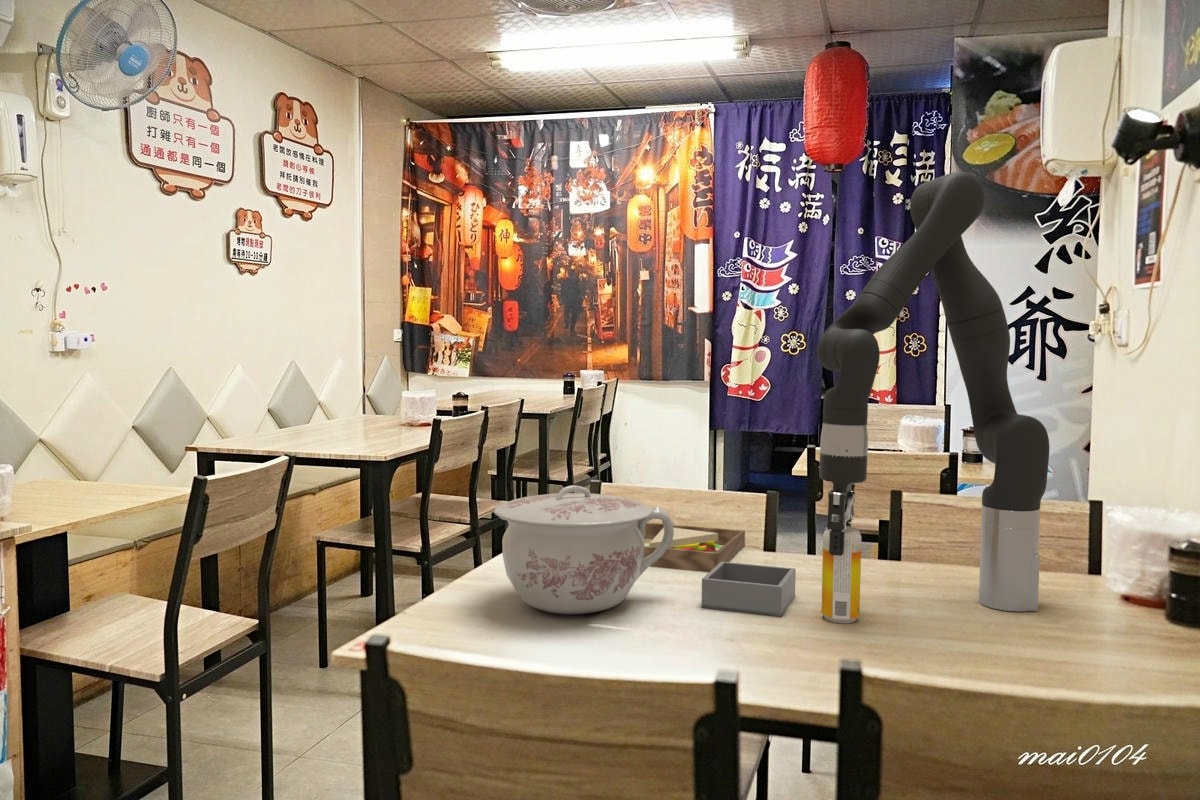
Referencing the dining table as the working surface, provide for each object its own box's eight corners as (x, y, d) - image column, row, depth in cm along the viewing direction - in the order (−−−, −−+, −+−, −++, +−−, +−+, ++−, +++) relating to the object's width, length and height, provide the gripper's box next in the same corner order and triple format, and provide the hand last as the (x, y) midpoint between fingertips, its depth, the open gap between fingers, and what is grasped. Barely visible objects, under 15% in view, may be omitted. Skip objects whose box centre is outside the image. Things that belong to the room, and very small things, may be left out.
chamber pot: (461, 613, 154) (460, 490, 153) (546, 576, 179) (546, 470, 177) (610, 639, 141) (611, 504, 140) (680, 595, 166) (681, 481, 164)
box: (795, 596, 166) (795, 568, 165) (781, 616, 153) (781, 587, 153) (720, 588, 171) (721, 561, 170) (701, 607, 158) (701, 578, 158)
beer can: (855, 613, 155) (858, 525, 154) (862, 624, 149) (864, 532, 148) (818, 612, 156) (820, 524, 155) (824, 623, 150) (826, 531, 149)
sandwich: (611, 558, 195) (611, 535, 195) (674, 545, 209) (674, 523, 208) (664, 572, 184) (665, 547, 184) (727, 557, 197) (727, 533, 197)
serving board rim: (744, 548, 204) (745, 530, 203) (717, 573, 181) (718, 553, 181) (641, 539, 212) (641, 522, 212) (603, 562, 190) (603, 543, 190)
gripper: (862, 457, 143) (858, 561, 144) (871, 448, 156) (867, 543, 157) (813, 454, 146) (809, 556, 147) (826, 445, 159) (822, 539, 160)
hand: (839, 549), depth 152 cm, fingers open, 8 cm apart
